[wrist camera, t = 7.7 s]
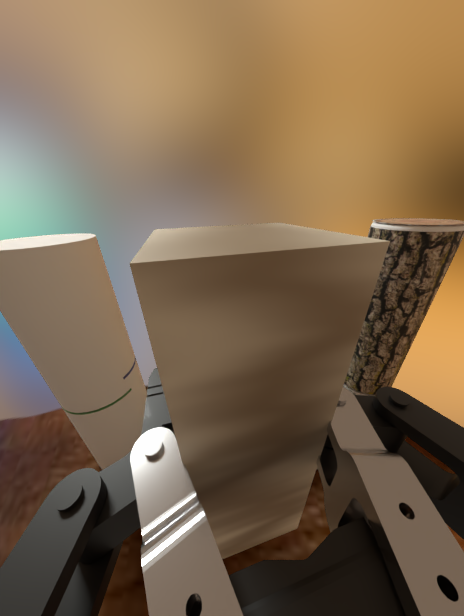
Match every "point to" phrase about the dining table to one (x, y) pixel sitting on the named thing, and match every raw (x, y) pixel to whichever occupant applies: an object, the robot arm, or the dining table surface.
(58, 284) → the cylindrical container
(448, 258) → the bark log cylinder
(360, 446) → the robot arm
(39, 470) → the dining table surface
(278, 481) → the ash post
